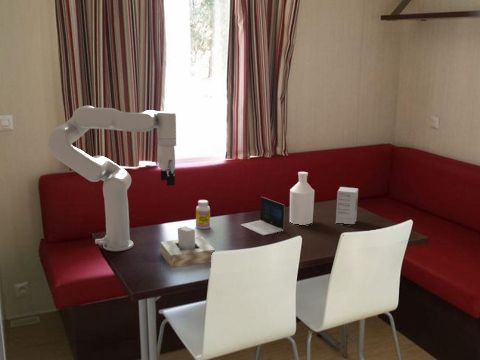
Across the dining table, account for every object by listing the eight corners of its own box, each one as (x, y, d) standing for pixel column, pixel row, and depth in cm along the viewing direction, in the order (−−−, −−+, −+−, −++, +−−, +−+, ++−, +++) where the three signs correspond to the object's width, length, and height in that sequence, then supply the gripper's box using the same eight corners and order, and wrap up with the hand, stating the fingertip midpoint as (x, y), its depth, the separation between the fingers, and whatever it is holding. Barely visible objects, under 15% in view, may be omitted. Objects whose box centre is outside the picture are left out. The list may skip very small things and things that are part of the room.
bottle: (288, 218, 270) (290, 169, 264) (311, 218, 270) (314, 170, 264) (289, 225, 258) (291, 175, 253) (314, 226, 258) (316, 175, 252)
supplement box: (354, 226, 259) (356, 192, 255) (335, 224, 262) (337, 190, 258) (356, 220, 268) (358, 188, 264) (338, 218, 270) (339, 186, 266)
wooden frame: (171, 267, 207) (170, 255, 205) (160, 253, 221) (160, 241, 220) (214, 261, 213) (214, 249, 212) (202, 247, 228) (202, 236, 226)
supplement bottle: (197, 229, 250) (197, 203, 247) (194, 225, 256) (194, 199, 253) (211, 228, 252) (211, 202, 249) (208, 224, 258) (208, 198, 255)
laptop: (240, 225, 257) (240, 200, 254) (260, 221, 265) (261, 196, 262) (263, 236, 243) (263, 209, 240) (284, 231, 251) (285, 204, 247)
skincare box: (196, 257, 217) (195, 229, 214) (187, 260, 214) (187, 231, 211) (186, 253, 221) (185, 225, 218) (177, 256, 218) (177, 228, 215)
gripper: (152, 139, 224) (153, 178, 228) (163, 146, 208) (164, 188, 212) (170, 138, 227) (171, 177, 231) (181, 145, 211) (182, 186, 215)
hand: (167, 182), depth 221 cm, fingers open, 9 cm apart
